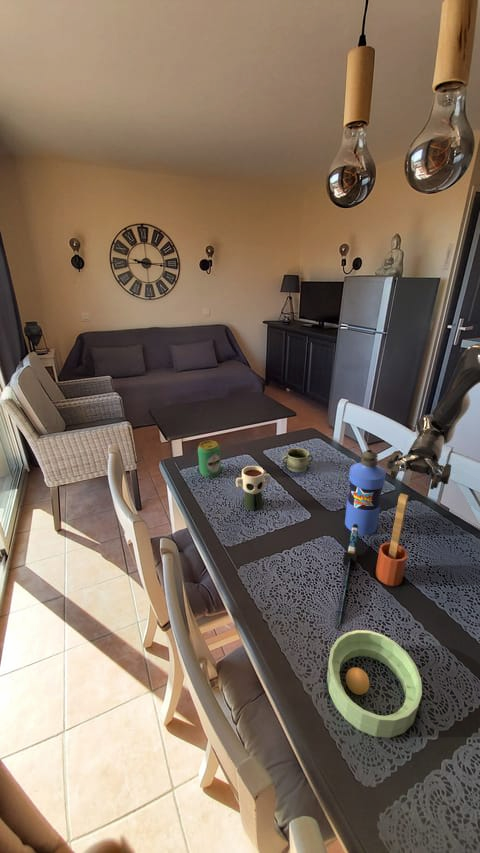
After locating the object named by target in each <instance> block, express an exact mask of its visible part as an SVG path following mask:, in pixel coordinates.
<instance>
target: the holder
mask: <svg viewBox="0 0 480 853" xmlns="http://www.w3.org/2000/svg"><path fill="white" fill-rule="evenodd" d="M390 544H391V541H389V542H383V543H382V544H381V545H380V546H379V549H378V556H377V561H376V562H377V563H376V566H375V567H376V568H375V576H376V578H377V579H378V580H379V581H380V582H381V583H383V584H384V585H386V586H390V587H396V586H399V585H401V584H402V582H403V579H404V573H405V568H406V563H407V560H408V552H407V550H406V548H404V547H403V546H402V545H400V544H399V547H398V552H397V558H396V559H391V558H389V557H388V555H389V549H390Z"/></svg>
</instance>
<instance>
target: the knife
mask: <svg viewBox="0 0 480 853" xmlns="http://www.w3.org/2000/svg"><path fill="white" fill-rule="evenodd" d="M358 536H359V534H358V525H357V524H354V525H353V527H352V530H351V531H350V538H349V544H348V549H347V551H344V553H343V560H342V565H343V566H346V567H347V570H346V575H345V583H344V589H343V596H342V601H341V608H340V614H339V623H338V624H339V626H340V625H341V621H342V617H343V611H344V610H343V609H344V605H345V604H344V603H345V598H346V593H347V588H348V582H349V577H350V572H351V568H354V569H356V566H357V559H358V555H357V553H356V549H357V543H358V542H357V541H358Z"/></svg>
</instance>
